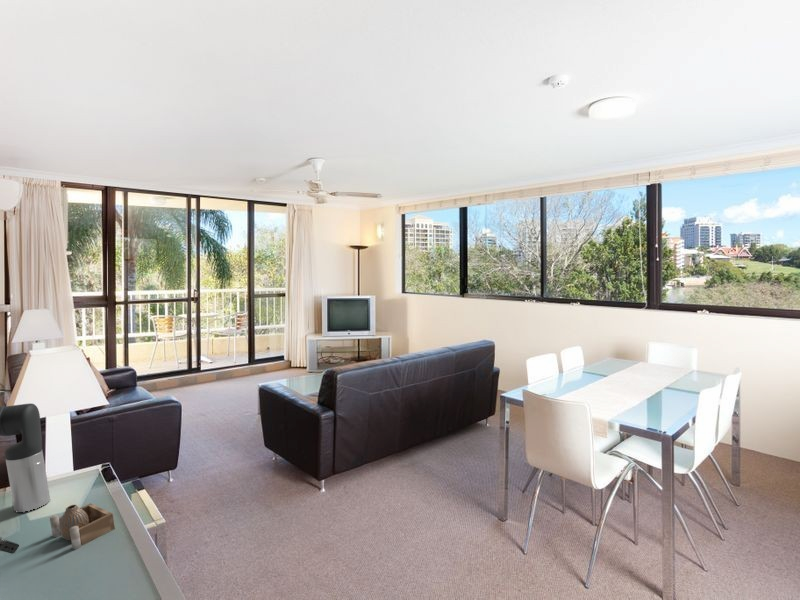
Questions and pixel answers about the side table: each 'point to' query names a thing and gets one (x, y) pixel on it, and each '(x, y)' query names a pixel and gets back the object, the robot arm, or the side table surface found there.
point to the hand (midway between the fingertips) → (15, 548)
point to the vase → (72, 520)
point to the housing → (86, 526)
